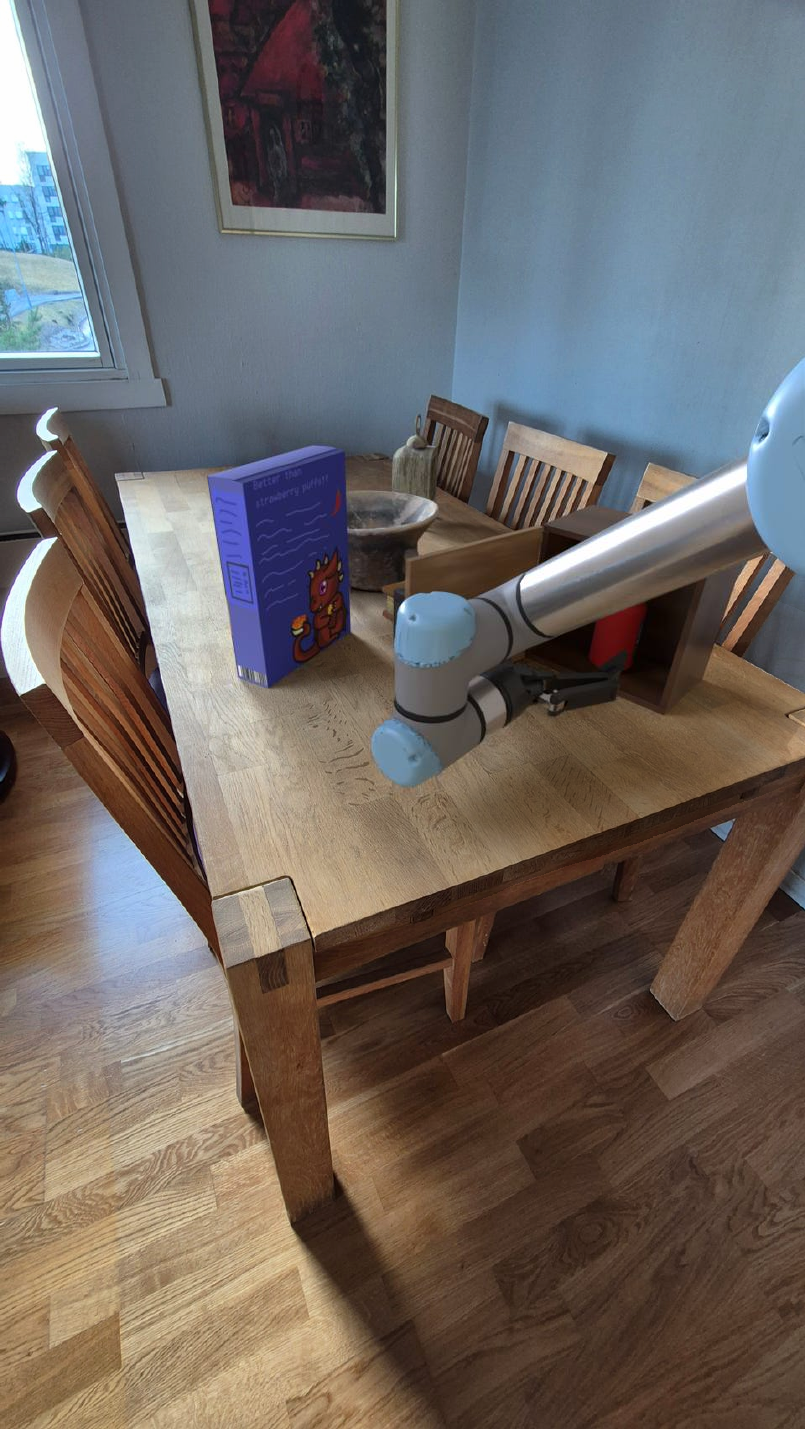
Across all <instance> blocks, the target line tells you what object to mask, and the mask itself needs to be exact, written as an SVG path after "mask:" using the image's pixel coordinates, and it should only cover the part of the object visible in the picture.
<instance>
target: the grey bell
mask: <svg viewBox="0 0 805 1429" xmlns="http://www.w3.org/2000/svg"><path fill="white" fill-rule="evenodd" d="M421 429H422V415H421V413H417V414H416V416H415V421H414V434H415V435H411V436H410V437H409V438H408V439H407V442H406V444H405V445H404V446H401V447H400V448H398V449H397V450H396V451H395V453H394V455H393V457H392V467H391V468H392V470H391V471H392V472H391V492H397V493H404V494H411V495H415V496H419V497H422V498H426V499H429V500H431V501H433V502H434V503H435V502H436V496H437V482H438V464H439V463H438V460H439V447H438V446H437V445H429V443H428V441H427V439H426V438H425V436H424V435H421Z"/></svg>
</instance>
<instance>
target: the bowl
mask: <svg viewBox="0 0 805 1429" xmlns="http://www.w3.org/2000/svg"><path fill="white" fill-rule="evenodd" d="M346 499H347V529H348V560H349V588H354V589H356V590H364V591H371V592H372V591H373V592H374V591H375V592H377V591H378V592H382V587H384V586H387V585H391V584H395V583H399V582H403V581H405V579H406V559H408V558H412V557H416V556H420V554H419V549H418V544H419V540H420V539H421V538H422V537H423V535H424V534H425V532H427V530H428V529H429V528H430V527H431V526H432V525H433V524H434V523H435V521H436V520H437V519H438V518H439V515H440V513H441V507H440V505H439V504H438V503H434V502H433V501H431V500H429V499H426V498H422V497H419V496H415V495H411V494H404V493H397V492H392V491H388V490H387V491H386V490H385V491H383V490H350V491H346Z"/></svg>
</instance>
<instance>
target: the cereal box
mask: <svg viewBox="0 0 805 1429" xmlns="http://www.w3.org/2000/svg"><path fill="white" fill-rule="evenodd" d="M346 472H347V471H346V451H345V450H343V449H339V448H337V447H333V446H328V445H327V446H325V445H313V444H312V445H309V446H305V447H302V448H299V449H296V450H292V451H288V452H285V453H281V454H278V455H274V456H272V457H268V458H265V459H261V460H258V461H257V460H256V461H254V462H251V463H247V464H244V465H239V466H237V467H233V468H230V469H226V470H223V471H220V472H216V473H212V474H209V475H206V479H207V485H208V486H207V487H208V493H209V498H210V505H211V511H212V517H213V518H212V519H213V525H214V531H215V538H216V544H217V550H218V556H219V563H220V569H221V577H222V582H223V590H224V596H225V603H226V607H227V616H228V620H229V629H230V634H231V640H232V647H233V654H234V660H235V666H236V673H237V678H239V679H241V680H244V681H247V682H249V683H252V684H255V685H258V686H261V687H264V688H266V689H269V688H271V687H273V686H274V685H275V684H277V683H278V682H280V681H281V680H283V679H284V678H286V677H287V676H288V675H290V674H291V673H293V672H294V671H295V670H298V669H299V668H300V667H301V666H303V665H304V664H306V663H307V662H309V661H311V660H312V659H313V658H315V657H316V656H318V655H319V654H320V653H322V652H323V651H325V650H326V649H328V648H329V647H331V646H333V645H334V644H335V643H336V642H338V641H339V640H341V639H343V638H344V637H345V636H347V635H348V634H350V633H351V632H352V627H351V626H352V625H351V624H352V623H351V596H350V595H351V594H350V592H351V591H350V587H349V560H348V529H347V499H346V492H347V475H346V474H347V473H346Z"/></svg>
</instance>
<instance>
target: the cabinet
mask: <svg viewBox="0 0 805 1429" xmlns="http://www.w3.org/2000/svg"><path fill="white" fill-rule="evenodd" d="M633 514H634V513H630V512H625V511H622V510H617V509H614V508H609V507H605V506H602V505H597V504H590V505H587V506H585V507H583V508H581V509H578V510H575V511H573V512H570V513H567V514H565V515H562V516H560V517H557V518H555V519H552V520H550V521H548V522H545V523H544V524H543V532H542V538H541V545H540V552H539V559H538V565H540V564H542V563H544V562H546V561H548V560H549V559H551V558H553V557H555V556H557V555H559V554H561V553H562V552H564V551H566V550H568V549H570V548H572V547H574V546H575V545H577V544H579V543H581V542H583V541H585V540H587V539H588V538H590V537H592V536H594V535H596V534H598V533H600V532H601V531H603V530H605V529H607V528H609V527H611V526H613V525H614V524H616V523H618V522H620V521H622V520H624V519H626V518H627V517H629V516H631V515H633ZM538 565H537V566H538ZM742 565H743V563H742V564H740V565H737V566H735V567H732V568H730V569H727V570H725V571H722V572H719V573H717V574H714V575H712V576H709V577H707V578H704V579H702V580H699V581H696V582H694V583H691V584H689V585H686V586H684V587H681V588H679V589H676V590H674V591H671V592H668V593H666V594H663V595H661V596H658V597H656V598H653V599H651V600H648V601H646V605H647V611H646V615H645V619H644V623H643V627H642V631H641V634H640V638H639V642H638V646H637V649H636V653H635V656H634V660H633V663H632V666H631V667H630V668H628V669H626V670H623V671H621V672H620V676H619V680H618V681H620V686H619V690H618V694H617V697H619V698H622V699H624V700H626V701H629V702H631V703H634V704H636V705H639V706H641V707H644V708H646V709H648V710H650V711H653V712H655V713H658V714H660V715H662V716H664V715H666V714H667V713H668V712H669V711H670V710H671V709H672V708H673V707H674V706H676V705H677V704H678V703H679V702H680V701H681V700H682V699H683V698H684V697H685V696H686V695H687V694H688V693H689V692H690V691H691V690H692V689H694V687H696V686H697V685H698V684H699V683H700V682H701V681H702V680H703V679H704V675H705V673H706V669H707V666H708V664H709V662H710V658H711V655H712V652H713V651H714V650H713V649H714V647H715V643H716V641H717V638H718V635H719V632H720V628H721V626H722V624H723V621H724V618H725V614H726V611H727V608H728V606H729V603H730V600H731V597H732V594H733V591H734V589H735V585H736V583H737V580H738V577H739V574H740V571H741V568H742ZM595 625H596V621H594V622H592V623H589V624H587V625H584V626H582V627H579V628H577V629H574V630H571V631H569V632H566V633H564V634H561V635H559V636H557V637H555V638H553V639H550V640H548V641H545V642H543V643H540V644H538V645H535V646H533V647H530V648H528V649H526V650H525V653H524V658H527V659H530V660H532V661H534V662H537V663H539V664H541V665H544V666H546V667H548V668H551V669H552V670H556V671H557V672H561V673H562V674H567V673H592V672H597V669H598V667H596V666H595V665H594V664H593V663H592V662H591V661H590V659H589V653H590V648H591V644H592V639H593V634H594V629H595Z"/></svg>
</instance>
